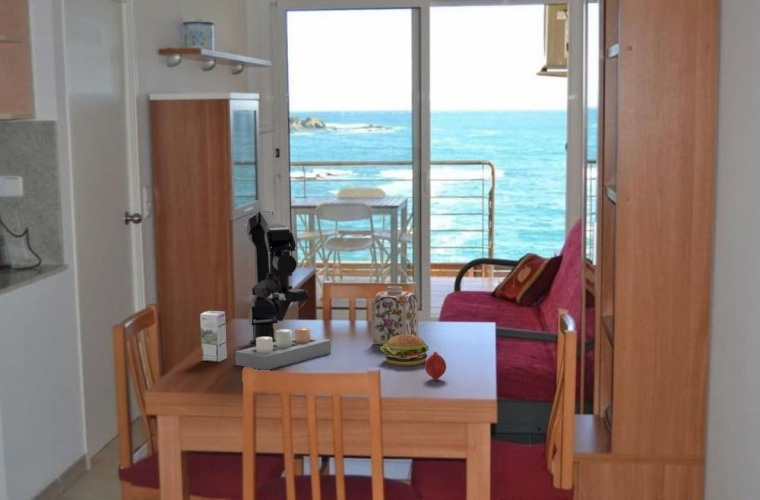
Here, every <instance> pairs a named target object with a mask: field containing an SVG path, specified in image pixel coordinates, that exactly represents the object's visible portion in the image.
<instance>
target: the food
mask: <svg viewBox="0 0 760 500" xmlns="http://www.w3.org/2000/svg"><path fill="white" fill-rule="evenodd" d="M429 348H430V347H429V346H428V344H426V343H425V342H424V340H423V339H422V338H421V337H420V336H419V335H418V336H414V335H409V334H404V335H397V336H394V337H392V338H390V339H389V340H388V342H387V343H386V344H385V343H383V345H380V346H379V350H381V352H383V353H384V354H383V356H384V357H385V360H386V363H388V364H390V365H395V366H400V365H401V366H403V367H404V366H405V367H406V366H409V367H410V366H417V365H421V364H423V363H426V360H427V359H428V355H427V354H428V351H429V350H430V349H429ZM401 366H400V367H401Z"/></svg>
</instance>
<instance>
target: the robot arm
mask: <svg viewBox="0 0 760 500" xmlns="http://www.w3.org/2000/svg"><path fill="white" fill-rule="evenodd" d="M246 233H247V236H248V240H249V241H250V243H251V244H252V246H253V247H254V248H253V249H254V269H255V271H254V272H255V275H254V276H255V285H253V287H252V289H251V292H252V293H251V295H253V297H252V300H251V306H250V307H249V312H248V316H247V317H248V324H249V325H250V326H252V339H251V340H249V343H253V344H256V338H258V337H272V341H273V342H276V338H275V328H274V324H278V322H282V321H283V320H284V318H285V317H286V314H287V312H288V309H289V307H290V306H291V303H296V302H301V301H305V300H306V301H307V300H309V295H308V294H309V293H308V291H307V290H306V289H301V288H295V289H293V285H290V277H292V276H293V273H294V272H295V271H296V269H297V264H298V263H297V261H296V259H295V257H294V256H292V255H291V252H295V251H296V249H295V248H296V242H295V241H296V240H295V237H294V234H293V231H292V230H291V229H290V228H289V227H288V226H287V225H284V224H280V222H279V221H278V219H277V218H276V216H275V215H274V211H273V210H270V209H269V210H268V209H267V210H258V211H256V213H255V215H253V216H252V217H250V218H248V221H247V223H246Z"/></svg>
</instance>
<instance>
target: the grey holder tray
mask: <svg viewBox="0 0 760 500" xmlns="http://www.w3.org/2000/svg"><path fill="white" fill-rule="evenodd" d="M331 347H332V344H331V339H325V338H320V337H315V336H311V342H309V343H305V344H300V343H295V336H294V337H293V336H292V347H289V348H285V349H282V348H277V347H276V342H273V352H269V353H265V354H263V353H258V352H256V346H253V347H248V348H244V349H240V350H236V351H235V366H240V367H244V368H247V367H246V366H250V367H253V368H256V369H255V370H258V369H262V370H265V371H269V370H272V369H276V368H280V367H284V366H288V365H290V364H294V363H298V362H304V361H306V360H310V359H314V358H318V357H321V356H325V355H328V354H331V353H332V348H331ZM253 368H252V369H253ZM262 370H261V371H262Z"/></svg>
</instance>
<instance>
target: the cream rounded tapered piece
mask: <svg viewBox="0 0 760 500" xmlns="http://www.w3.org/2000/svg"><path fill="white" fill-rule="evenodd" d="M255 347H256V352H258V353H263V354H265V353H269V352H273V341H272V337H258V338H256V343H255Z"/></svg>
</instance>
